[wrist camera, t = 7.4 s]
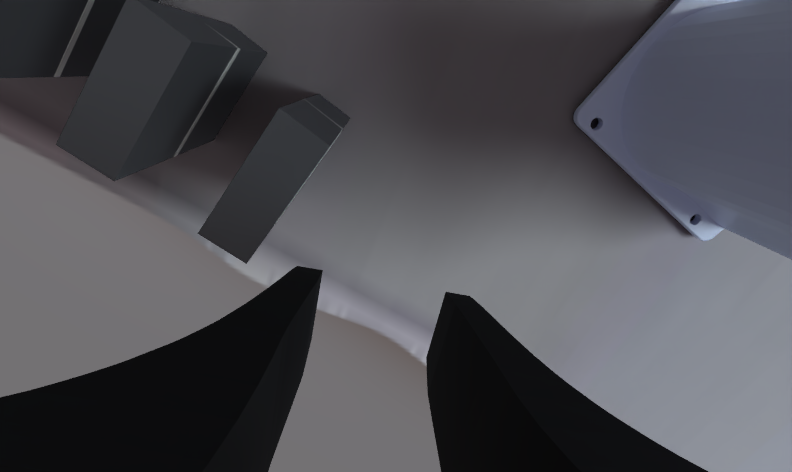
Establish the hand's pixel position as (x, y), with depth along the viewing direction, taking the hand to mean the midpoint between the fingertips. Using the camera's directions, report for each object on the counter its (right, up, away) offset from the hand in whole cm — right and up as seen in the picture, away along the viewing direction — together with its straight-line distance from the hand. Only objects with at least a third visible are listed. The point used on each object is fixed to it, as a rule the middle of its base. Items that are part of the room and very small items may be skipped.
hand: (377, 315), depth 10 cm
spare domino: (-3, +6, +8) cm, 10 cm away
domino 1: (-7, +8, +7) cm, 12 cm away
